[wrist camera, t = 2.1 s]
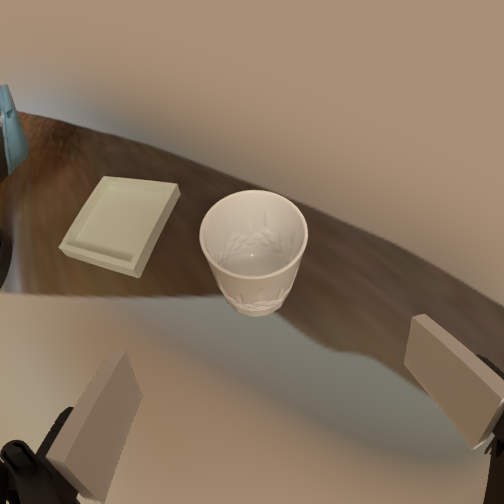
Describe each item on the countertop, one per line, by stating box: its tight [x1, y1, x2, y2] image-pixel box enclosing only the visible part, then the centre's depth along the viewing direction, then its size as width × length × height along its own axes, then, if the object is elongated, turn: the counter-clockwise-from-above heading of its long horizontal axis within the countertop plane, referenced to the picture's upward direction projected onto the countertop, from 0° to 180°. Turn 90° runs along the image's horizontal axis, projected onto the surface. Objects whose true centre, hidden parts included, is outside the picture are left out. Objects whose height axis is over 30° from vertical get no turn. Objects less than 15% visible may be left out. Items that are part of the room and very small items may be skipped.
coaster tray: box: [59, 176, 181, 278], centre depth 33 cm, size 13×13×2 cm
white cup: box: [200, 190, 308, 317], centre depth 25 cm, size 8×8×10 cm
